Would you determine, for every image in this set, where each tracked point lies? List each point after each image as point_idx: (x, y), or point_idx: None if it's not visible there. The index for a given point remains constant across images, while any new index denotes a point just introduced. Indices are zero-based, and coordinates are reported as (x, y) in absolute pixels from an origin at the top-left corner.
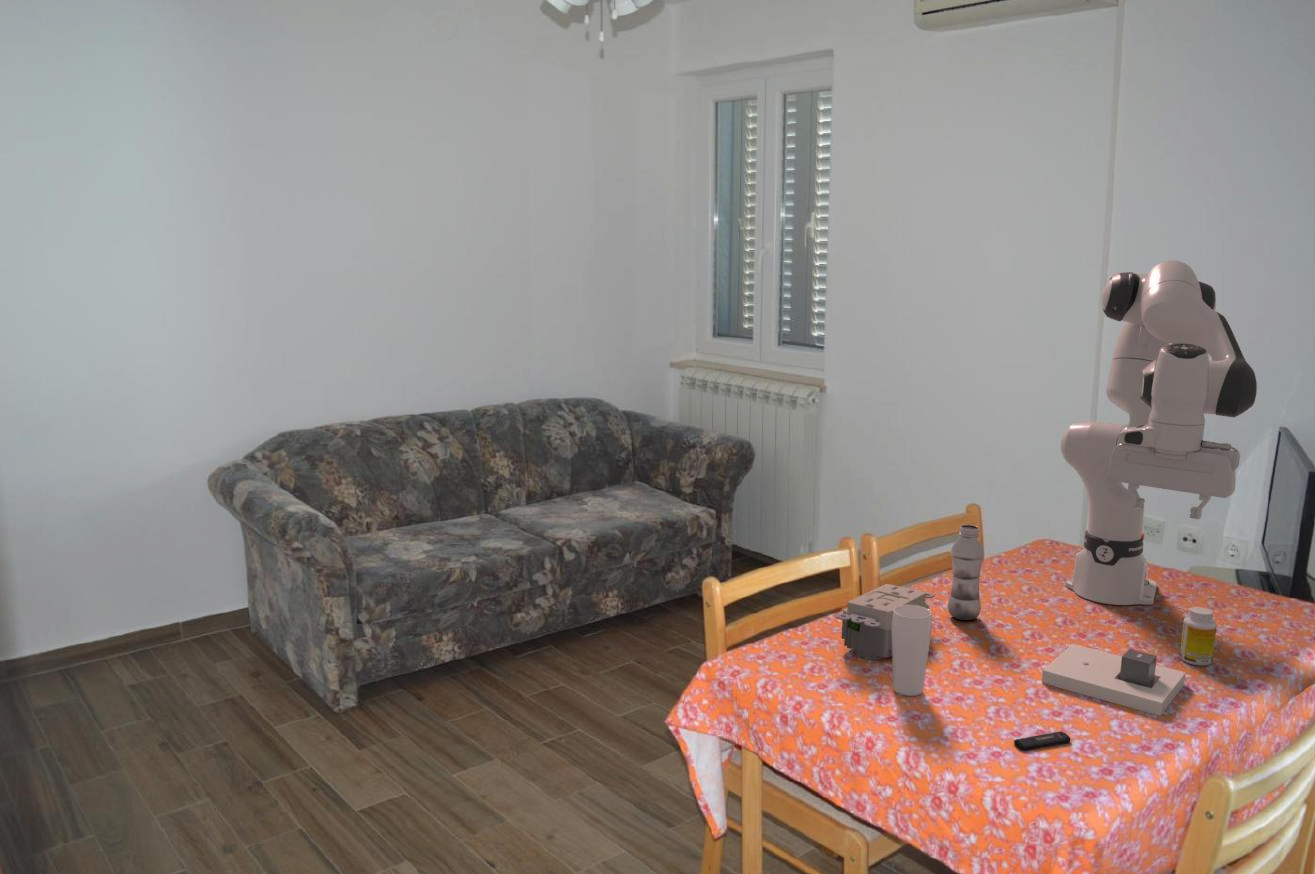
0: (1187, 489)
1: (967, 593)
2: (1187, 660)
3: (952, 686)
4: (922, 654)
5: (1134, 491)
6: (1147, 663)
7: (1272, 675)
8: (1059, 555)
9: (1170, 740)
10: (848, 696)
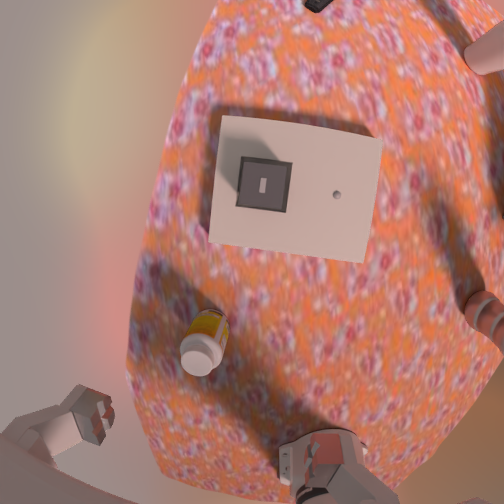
0: (52, 481)
1: (494, 306)
2: (218, 312)
3: (450, 86)
4: (487, 33)
5: (361, 498)
6: (247, 162)
7: (136, 321)
8: None
9: (207, 62)
10: None
